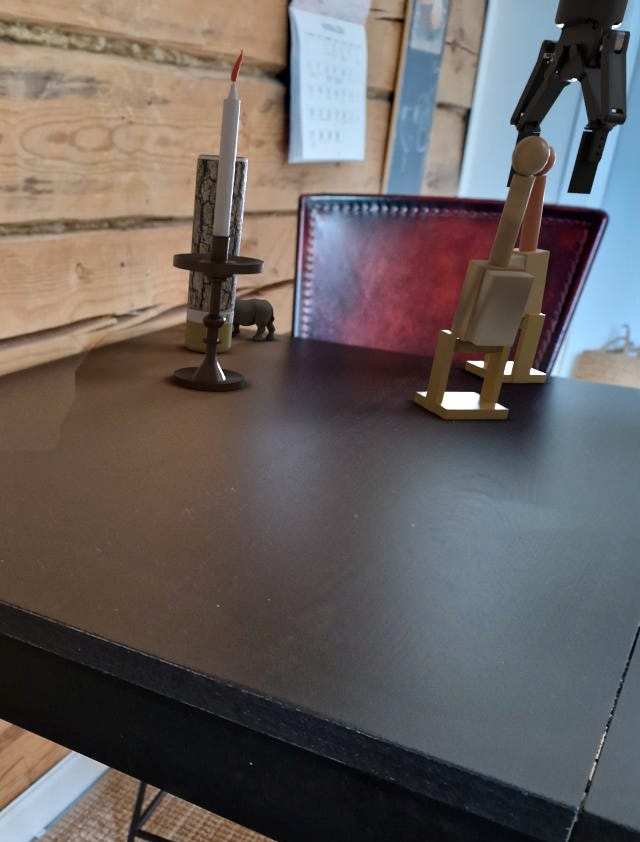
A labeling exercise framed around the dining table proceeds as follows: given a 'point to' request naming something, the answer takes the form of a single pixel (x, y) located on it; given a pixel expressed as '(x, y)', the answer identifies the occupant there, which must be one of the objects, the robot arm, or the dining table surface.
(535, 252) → the brush far
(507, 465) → the dining table surface
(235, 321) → the rhino figurine
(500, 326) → the brush near
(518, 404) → the dining table surface
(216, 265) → the candlestick
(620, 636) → the dining table surface
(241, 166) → the paper tube
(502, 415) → the bracket near
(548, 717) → the dining table surface
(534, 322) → the bracket far
